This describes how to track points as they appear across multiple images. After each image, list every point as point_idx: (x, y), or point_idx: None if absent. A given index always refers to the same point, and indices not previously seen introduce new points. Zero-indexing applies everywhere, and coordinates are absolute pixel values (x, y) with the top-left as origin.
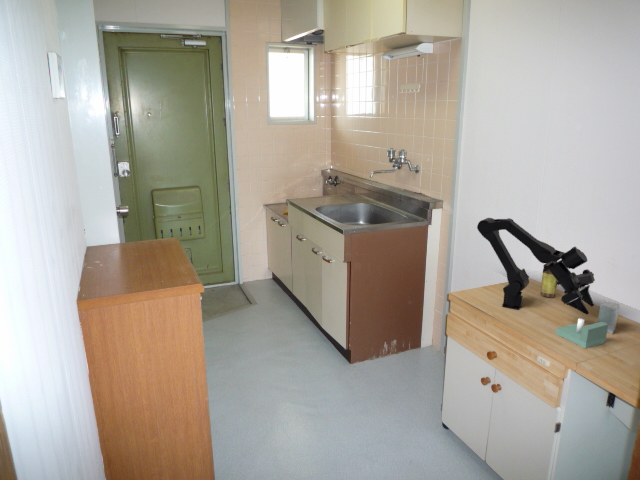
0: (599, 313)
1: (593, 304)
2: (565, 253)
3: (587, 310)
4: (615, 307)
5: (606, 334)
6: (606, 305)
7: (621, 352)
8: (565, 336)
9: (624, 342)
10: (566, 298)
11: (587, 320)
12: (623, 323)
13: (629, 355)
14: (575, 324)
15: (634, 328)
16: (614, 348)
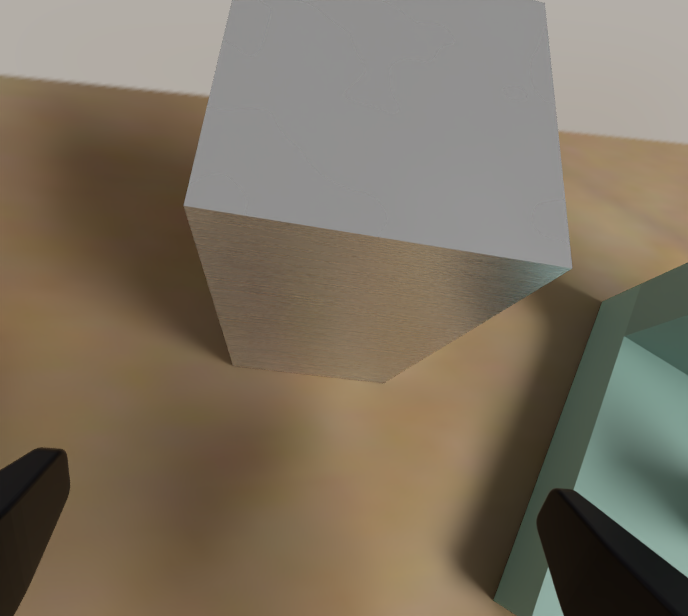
0: (464, 326)
1: (53, 465)
2: None
3: (615, 529)
4: (499, 18)
5: (670, 271)
6: (509, 154)
7: (665, 203)
8: None
9: None
10: None
11: (140, 500)
12: (41, 156)
13: (668, 164)
14: (553, 613)
15: (133, 88)
16: (641, 241)
